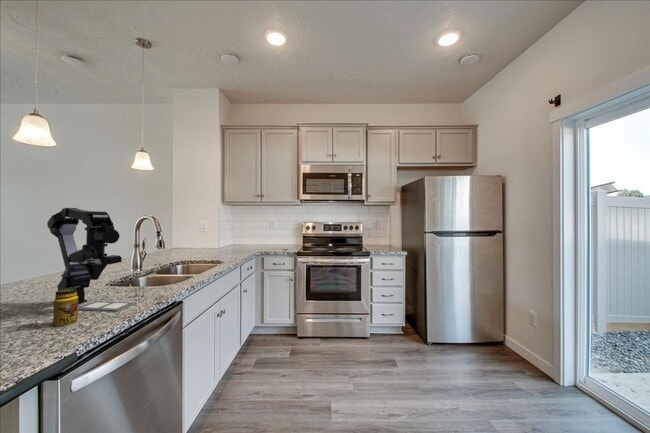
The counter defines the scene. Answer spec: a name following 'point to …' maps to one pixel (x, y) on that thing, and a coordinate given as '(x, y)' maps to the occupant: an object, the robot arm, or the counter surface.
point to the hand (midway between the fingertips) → (94, 279)
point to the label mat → (105, 306)
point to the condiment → (65, 309)
